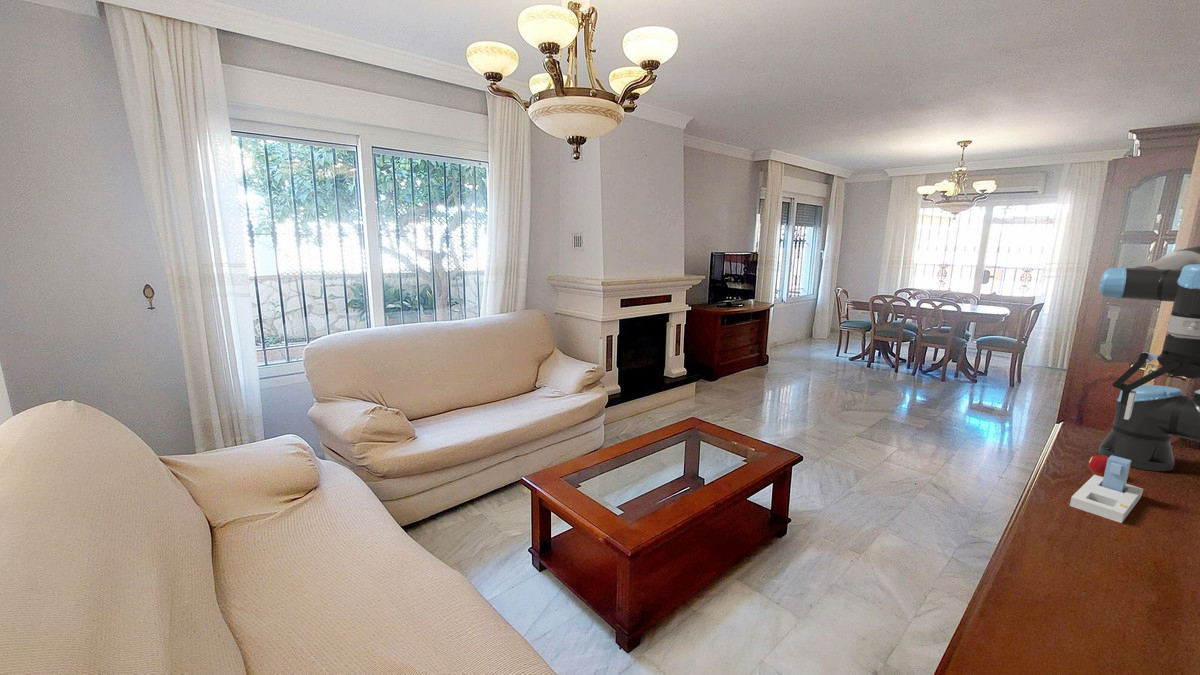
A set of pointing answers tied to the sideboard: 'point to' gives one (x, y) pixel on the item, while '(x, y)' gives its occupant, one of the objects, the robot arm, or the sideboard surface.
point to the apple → (1098, 464)
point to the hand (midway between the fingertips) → (1171, 427)
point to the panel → (1106, 499)
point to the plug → (1116, 473)
